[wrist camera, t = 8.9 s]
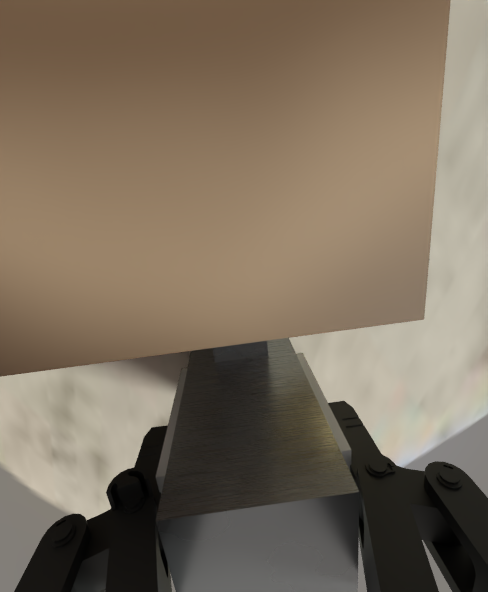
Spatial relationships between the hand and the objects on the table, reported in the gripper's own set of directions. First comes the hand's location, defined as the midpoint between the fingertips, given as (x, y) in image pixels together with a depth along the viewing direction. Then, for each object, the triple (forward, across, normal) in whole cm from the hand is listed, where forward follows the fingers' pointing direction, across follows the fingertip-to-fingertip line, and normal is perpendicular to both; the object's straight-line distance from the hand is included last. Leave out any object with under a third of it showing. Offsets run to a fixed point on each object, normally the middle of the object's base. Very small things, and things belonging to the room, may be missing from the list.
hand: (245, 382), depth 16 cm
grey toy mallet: (+1, 0, +5) cm, 5 cm away
